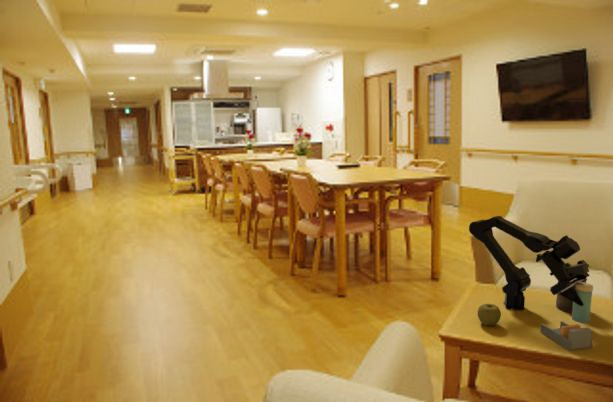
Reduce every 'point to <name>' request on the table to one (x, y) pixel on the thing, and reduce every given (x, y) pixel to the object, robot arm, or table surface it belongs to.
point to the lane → (576, 337)
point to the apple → (489, 314)
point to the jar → (585, 294)
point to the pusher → (566, 330)
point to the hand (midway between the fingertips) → (586, 303)
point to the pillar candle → (564, 302)
